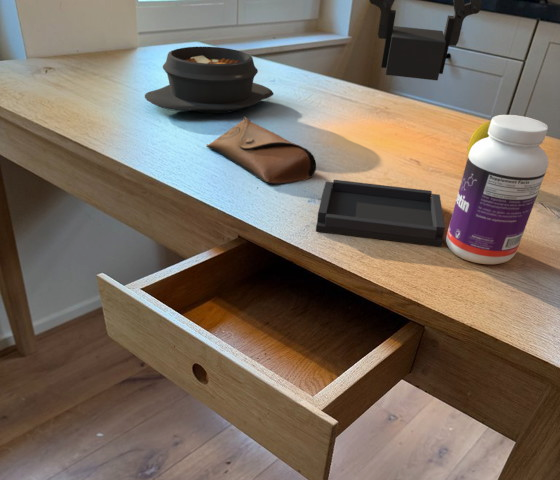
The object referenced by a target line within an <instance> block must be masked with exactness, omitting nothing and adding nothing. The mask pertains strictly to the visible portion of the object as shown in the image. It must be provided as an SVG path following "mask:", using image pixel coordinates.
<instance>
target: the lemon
mask: <svg viewBox="0 0 560 480" xmlns="http://www.w3.org/2000/svg"><path fill="white" fill-rule="evenodd" d="M490 123H491V120H489V121H485V122H484V123H482V124H480V125H479V126H478V127H477V128H476V129H475V130H474V132H473V134H472V135H471V137H470V139H469V142H468V145H467V153H466V156H467V157H466V158H467V159H468V155H469V152H470V149H471V148H472V146H473V145H474V144H475V143H476V142H478V141H479V140H482V139H484V138H488V137H489V135H488V130H489V126H490Z"/></svg>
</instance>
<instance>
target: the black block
mask: <svg viewBox="0 0 560 480" xmlns="http://www.w3.org/2000/svg"><path fill="white" fill-rule="evenodd" d="M445 45H446V41H445V38H444V31H443V30H437V29H427V28H417V27H407V26H399V25H398V26H397V25H394V26H393V32H392V37H391V43H390V49H389V56H388V62H387V68H385V76H392V77H401V78H411V79H421V80H429V81H438V80H439V76H440V74H439V72H440V68H441V63H442V59H443V54H444V50H445Z"/></svg>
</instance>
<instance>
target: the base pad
mask: <svg viewBox="0 0 560 480" xmlns="http://www.w3.org/2000/svg"><path fill="white" fill-rule="evenodd" d="M317 211H318V212H317V219H316V220H317V221H316V225H315V232H318V233H326V234H333V235H334V234H335V235H344V236H351V237H358V238H367V239H376V240H382V241H391V242H399V243H407V244H416V245H424V246H430V247H431V246H433V247H443V243H444V234H445V231H446V225H445V219H444V212H443V206H442V201H441V195H440V194H436V193H433V192H432V190H429V189H427V190H426V189H418V188H410V187H403V186H402V187H401V186H392V185H383V184H375V183H369V182H358V181H350V180H340V179H333V180H332V181H325V182H324V187H323V190H322V195H321V199H320V203H319V207H318V210H317Z"/></svg>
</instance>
